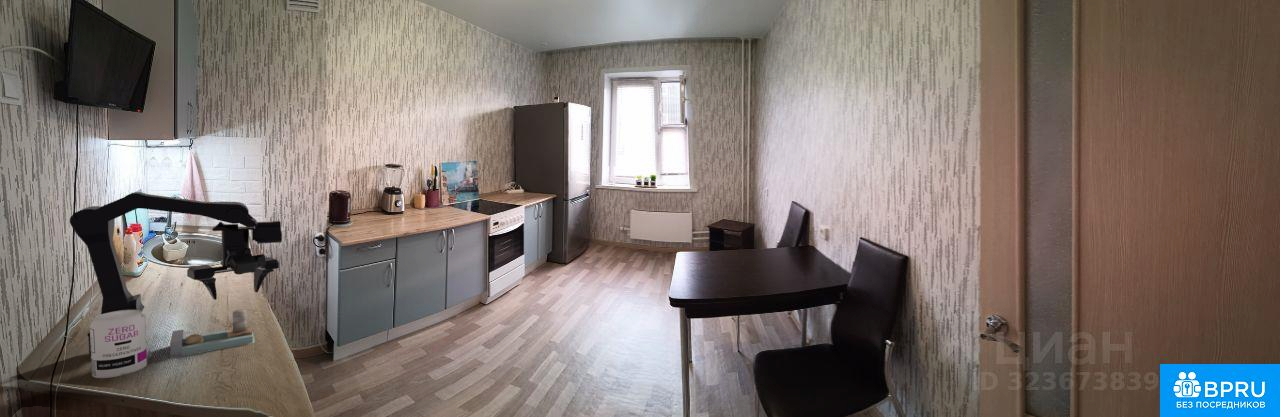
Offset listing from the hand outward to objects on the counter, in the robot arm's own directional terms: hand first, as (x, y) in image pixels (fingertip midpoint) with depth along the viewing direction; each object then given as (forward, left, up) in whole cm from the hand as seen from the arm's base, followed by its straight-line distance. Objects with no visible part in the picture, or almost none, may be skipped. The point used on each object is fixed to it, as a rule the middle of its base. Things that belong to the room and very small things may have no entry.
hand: (236, 295), depth 121 cm
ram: (-4, -5, -11) cm, 13 cm away
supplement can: (-24, +4, -13) cm, 27 cm away
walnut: (-11, +1, -11) cm, 16 cm away
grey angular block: (-13, +3, -11) cm, 17 cm away
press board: (-8, -2, -13) cm, 15 cm away
